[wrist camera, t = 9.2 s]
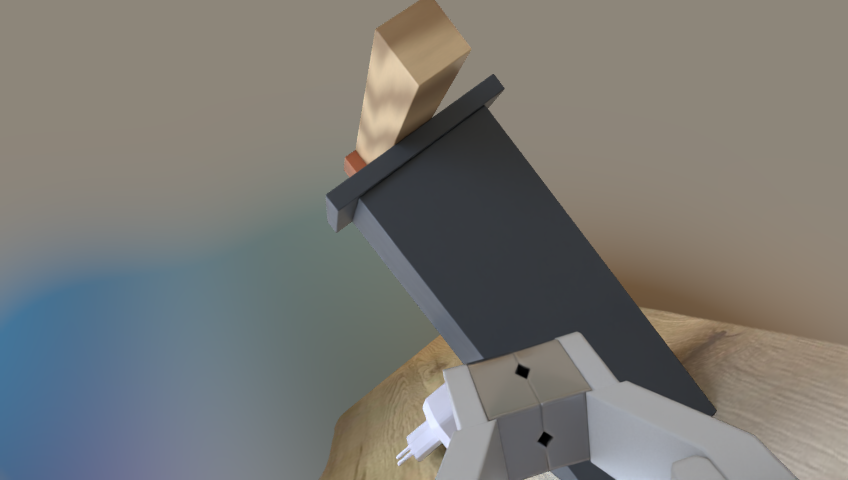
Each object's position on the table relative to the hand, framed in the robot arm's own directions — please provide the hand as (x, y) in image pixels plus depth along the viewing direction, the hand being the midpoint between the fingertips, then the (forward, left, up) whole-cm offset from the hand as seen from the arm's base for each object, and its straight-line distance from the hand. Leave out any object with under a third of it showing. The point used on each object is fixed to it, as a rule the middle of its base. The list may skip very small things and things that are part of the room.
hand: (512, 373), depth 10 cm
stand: (+24, 0, -18) cm, 30 cm away
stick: (+21, -1, +8) cm, 23 cm away
